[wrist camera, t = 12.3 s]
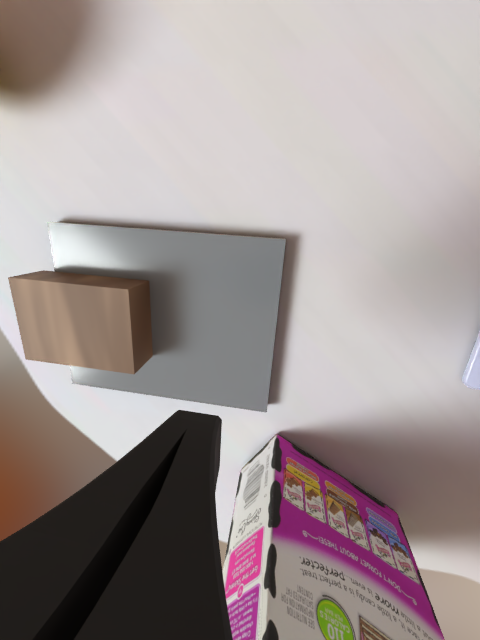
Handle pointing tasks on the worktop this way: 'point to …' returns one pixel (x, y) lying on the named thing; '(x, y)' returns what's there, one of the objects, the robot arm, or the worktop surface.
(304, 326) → the worktop surface
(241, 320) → the grey flat rectangular plate
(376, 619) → the candy bar box
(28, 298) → the walnut slab
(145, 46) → the worktop surface
